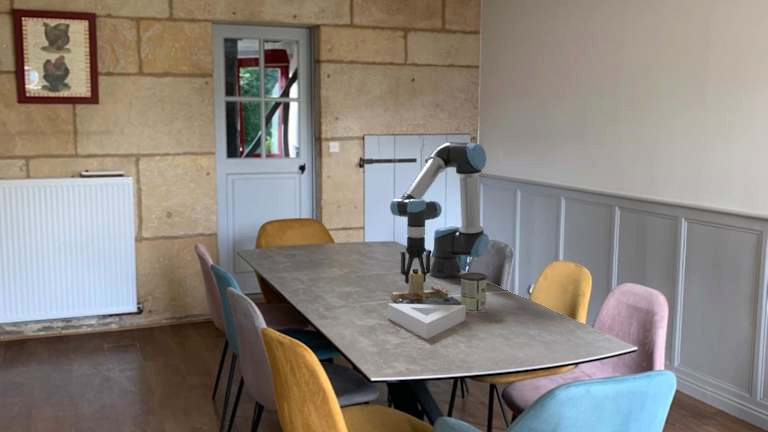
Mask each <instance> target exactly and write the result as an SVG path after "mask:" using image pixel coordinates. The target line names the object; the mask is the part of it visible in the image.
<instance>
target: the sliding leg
mask: <svg viewBox="0 0 768 432" xmlns="http://www.w3.org/2000/svg"><path fill="white" fill-rule="evenodd" d="M409 275H410V276H411V291H410V292H411V293H412V294H414V293H417V294H419V295H420V296H421V297H423V301H425V298H426V295H425V294H424V290H425V289H424V288H425V287H424V285H425V282H424V274H423V273H421V271H420V270H419V268H416V267H414V268H412V270H410V274H409Z"/></svg>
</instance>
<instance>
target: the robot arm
mask: <svg viewBox="0 0 768 432" xmlns="http://www.w3.org/2000/svg"><path fill="white" fill-rule="evenodd" d="M486 163H487V155H486V150H485V149H484V147H483V146H482V144H479V143H475V142H458V141H457V142H453V141H450V142H446V143H443V144H441V145H440V146H439V147H437V148H436V149H434V150H433V151H432V152H431V153H430V154H429V156H428V157H427V159H426V164H424V166H423V167H422V169H421V170H420V172H419V173H418V174H417V176H416V177H415V178H414V179H413V181H412V183H411V184H410V185H409V186H408V188H407V190H406V191H405V192H404V193H403V195H402V196H401V197H400V198H394V199H393V200H391V202H390V204H389V205H390V206H389V209H390V212H391V215H393V216H396V217H403V218H407V220H406V221H407V224H406V228H407V229H406V231H407V232H406V235H407V237H406V248H405V249H404V250H400V251H399V254H400V274H401V275H402V276H404V283H405V284H406V292H410V291H411V276H410V275H409V274H410V271H412V270H411V269H412V267H413V262H414V260H415V259H417V260H418V264H419V268H420V272H421V273H423V274H424V283H426V282H427V281H426V278H427V277H426V276H427V274H429V275H430V276H432V277H433V278H434V277H435V278H441V279H453V278H454V279H455V278H459V277H461V275H462V268H461V265H460V261H459V257H460V256H462V257H467V258H471V259H473V258H477V259H479V258H483V256H484V255H485V254H486V253H487V251H488V248H489V246H490V245H489V244H490V238H489V235H488V234H487V233H484V227H483V226H482V225H481V214H480V212H481V211H480V210H481V209H480V187H479V184H480V183H479V175H480V174H481V173H482V170H483V169H484V168H485V166H486ZM448 168H455V174H457V175H458V177H459V189H460V190H459V194H460V215H461V217H460V218H461V226H460V227H458V226H447V227H440V228H436V229H435V230H434V235H433V236H434V237H433V251H432V250H431V249H427V248H426V246H425V245H426V237H425V236H426V221H429V220H434V219H437V218H438V217H440V216H441V214H442V212H443V211H442V206H441V204H440V203H439V202H438V201H435V200H434V201H433V200H429V201H426V200H425V199H423V198H424V196H425V194H426V193H427V192H428V190H429V189H430V188H431V186H432V184H433V183H434V182H435V181H436V179H437V178H438V176H439V175H440V174H441V173H443V172H445V170H446V169H448ZM432 252H433V260H432V264H431V255H432ZM407 254H408V258H407V259H408V260H407V259H406V257H407ZM424 254H425V262H424V257H423V255H424ZM406 260H407V263H406Z"/></svg>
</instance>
